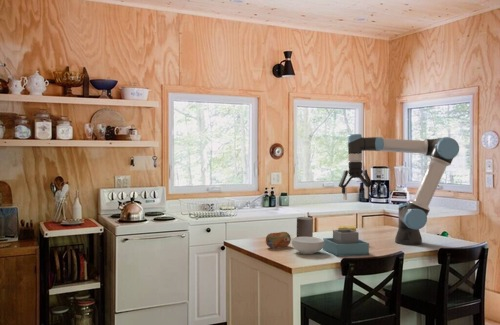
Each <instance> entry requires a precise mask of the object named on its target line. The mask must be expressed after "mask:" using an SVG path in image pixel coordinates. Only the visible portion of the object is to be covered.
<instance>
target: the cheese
mask: <svg viewBox="0 0 500 325" xmlns="http://www.w3.org/2000/svg"><path fill="white" fill-rule="evenodd" d="M337 230H353V231H356V232H357V225H338V228H337Z"/></svg>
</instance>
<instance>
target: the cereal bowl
mask: <svg viewBox="0 0 500 325" xmlns="http://www.w3.org/2000/svg"><path fill="white" fill-rule="evenodd" d="M291 245H292V247H293V249H294V250H296V251H297V252H299V253H300V254H305V255H314V254H316V253H317V252H320V251H322V250H323V246H324V240H323V238H320V237H314V236H313V237H297V236H296V237H295V236H294V237H291Z"/></svg>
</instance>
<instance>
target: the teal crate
mask: <svg viewBox="0 0 500 325" xmlns="http://www.w3.org/2000/svg"><path fill="white" fill-rule="evenodd" d="M322 239H323V240H324V246H323V248H322V250H323V251H324V252H327V253H329V254H331V255H333V256H335V257H352V256H354V257H355V256H369V254H370V243H369V242H367V241H364V240H363V239H358V243H356V244H336V243H334V242H333V237H326V238H323V237H322Z"/></svg>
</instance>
